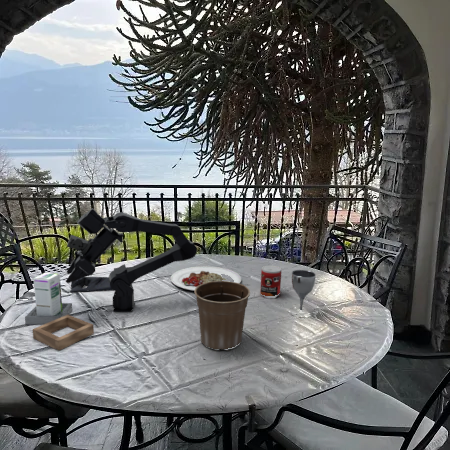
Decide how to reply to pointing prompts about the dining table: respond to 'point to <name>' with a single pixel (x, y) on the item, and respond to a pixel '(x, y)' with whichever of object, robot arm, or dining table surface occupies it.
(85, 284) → the dark slate chunk
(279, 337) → the dining table surface
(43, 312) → the syrup box
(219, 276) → the plated food
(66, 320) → the brown wooden square frame
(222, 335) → the plant pot
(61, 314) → the holder
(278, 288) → the canned food
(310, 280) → the grey funnel
